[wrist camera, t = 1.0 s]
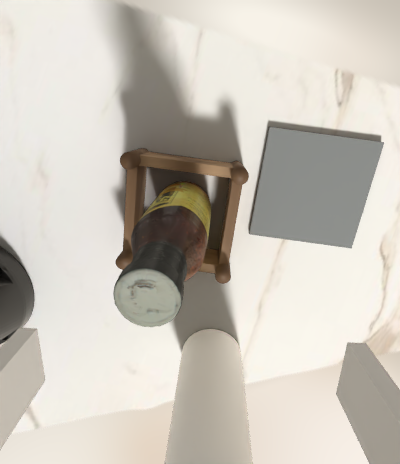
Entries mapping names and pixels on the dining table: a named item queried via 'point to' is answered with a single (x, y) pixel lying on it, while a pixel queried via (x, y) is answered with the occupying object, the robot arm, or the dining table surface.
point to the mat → (313, 186)
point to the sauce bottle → (164, 255)
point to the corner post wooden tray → (143, 158)
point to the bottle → (210, 403)
